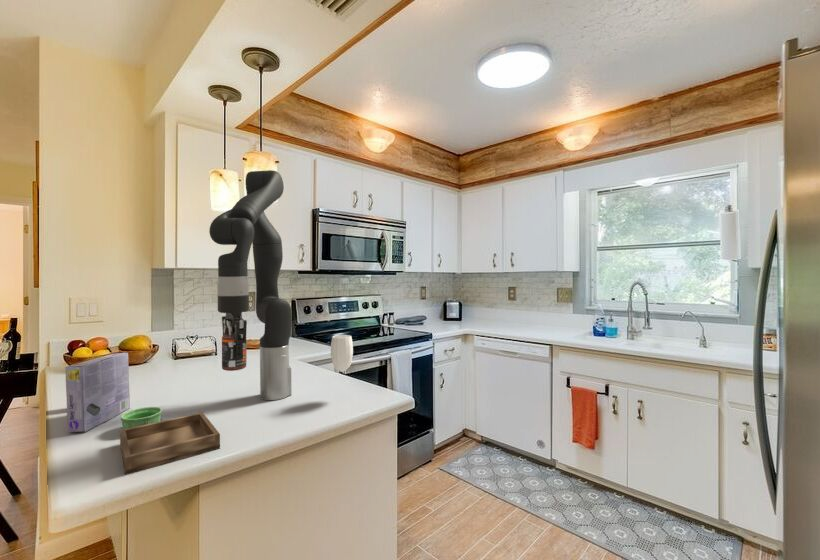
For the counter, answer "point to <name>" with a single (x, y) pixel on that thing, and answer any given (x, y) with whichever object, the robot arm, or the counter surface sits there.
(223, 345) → the supplement bottle
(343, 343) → the cup
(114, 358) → the cake pan box
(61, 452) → the counter surface
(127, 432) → the walnut tray
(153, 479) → the counter surface
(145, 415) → the ramekin
